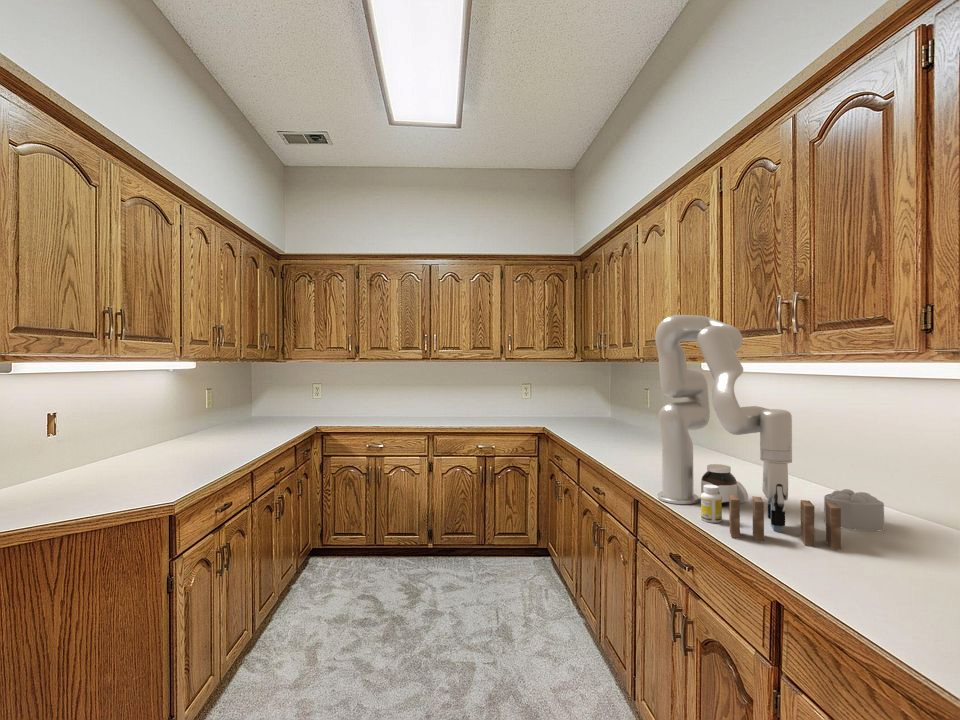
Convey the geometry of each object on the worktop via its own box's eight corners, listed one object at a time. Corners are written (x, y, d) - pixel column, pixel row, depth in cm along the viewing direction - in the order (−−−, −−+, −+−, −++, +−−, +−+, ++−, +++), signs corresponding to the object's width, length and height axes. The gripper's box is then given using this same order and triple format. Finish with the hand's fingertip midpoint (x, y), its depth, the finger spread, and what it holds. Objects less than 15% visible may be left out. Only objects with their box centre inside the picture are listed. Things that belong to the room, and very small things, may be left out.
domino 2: (755, 540, 132) (755, 501, 132) (752, 533, 137) (752, 496, 137) (764, 541, 131) (763, 502, 131) (761, 534, 136) (760, 496, 136)
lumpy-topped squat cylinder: (888, 532, 137) (888, 499, 137) (832, 528, 140) (831, 496, 140) (870, 519, 147) (870, 489, 147) (818, 516, 150) (818, 486, 150)
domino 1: (731, 538, 134) (731, 499, 134) (729, 531, 139) (729, 494, 139) (740, 538, 133) (739, 500, 133) (737, 532, 138) (737, 495, 138)
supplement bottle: (720, 517, 150) (719, 484, 150) (723, 524, 145) (723, 489, 145) (699, 516, 151) (699, 483, 151) (702, 522, 146) (702, 488, 146)
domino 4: (831, 548, 126) (831, 507, 126) (825, 541, 131) (825, 501, 131) (841, 549, 125) (840, 508, 125) (835, 542, 130) (835, 502, 130)
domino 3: (805, 545, 128) (805, 505, 128) (800, 538, 133) (800, 499, 133) (814, 546, 127) (814, 506, 127) (809, 539, 132) (809, 500, 132)
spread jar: (697, 501, 166) (697, 465, 166) (715, 495, 173) (715, 460, 173) (734, 510, 157) (734, 472, 157) (752, 503, 164) (752, 466, 163)
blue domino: (773, 531, 139) (773, 494, 138) (770, 525, 143) (770, 489, 143) (782, 532, 138) (782, 494, 138) (778, 526, 142) (778, 489, 142)
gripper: (756, 448, 149) (756, 511, 150) (765, 460, 134) (765, 531, 134) (785, 450, 147) (786, 514, 147) (798, 462, 131) (799, 534, 131)
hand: (776, 521), depth 140 cm, fingers closed on blue domino, 4 cm apart
